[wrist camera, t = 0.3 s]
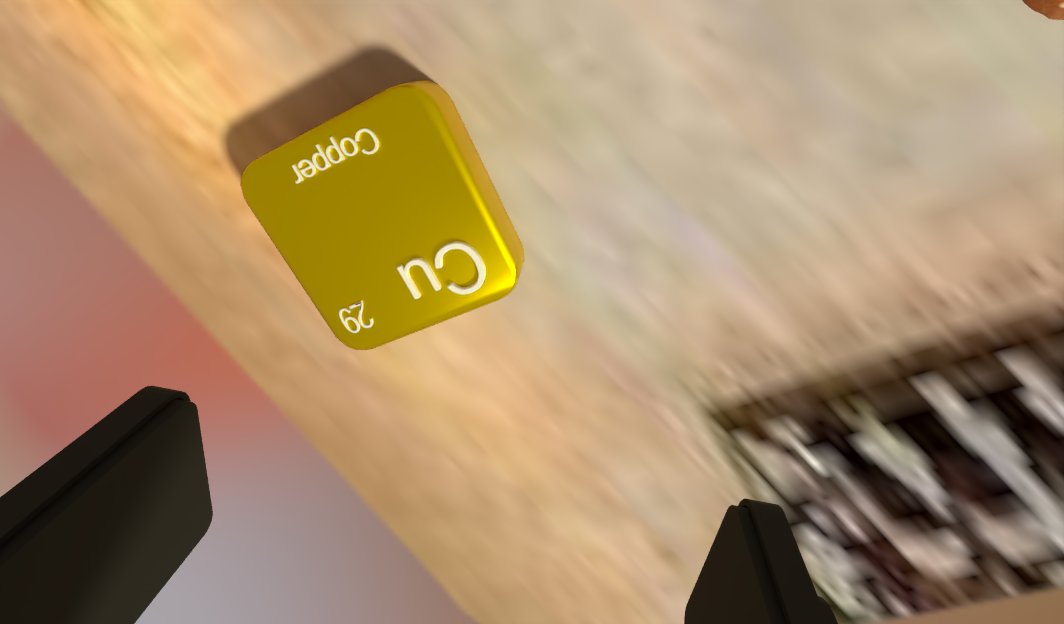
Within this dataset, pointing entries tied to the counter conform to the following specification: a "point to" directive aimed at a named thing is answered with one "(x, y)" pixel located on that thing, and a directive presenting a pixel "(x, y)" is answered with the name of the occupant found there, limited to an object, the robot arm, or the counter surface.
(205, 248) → the counter surface
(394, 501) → the counter surface
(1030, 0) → the slice of bread
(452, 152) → the element tile
